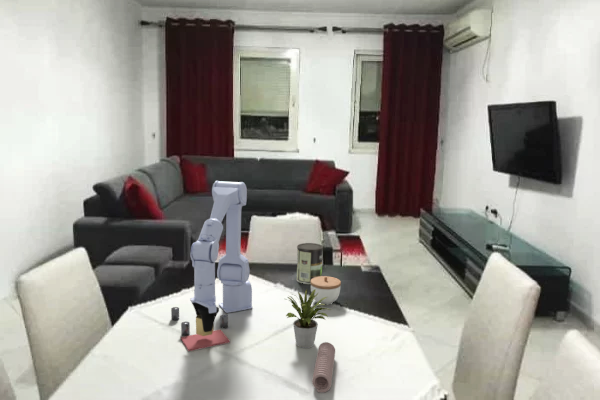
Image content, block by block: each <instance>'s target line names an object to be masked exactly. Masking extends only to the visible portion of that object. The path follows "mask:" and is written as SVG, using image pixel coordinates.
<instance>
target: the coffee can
mask: <svg viewBox="0 0 600 400" xmlns="http://www.w3.org/2000/svg"><path fill="white" fill-rule="evenodd" d="M296 248H297V252H296V256H297V257H296V265H297V266H296V281H297V283H300V284H302V283H303V285H311V283H310V282H311V279H312V278H315V277H319V276H323V252H324V251H323V250H324V246H323V245H321V244H319V243H314V242H305V243H299V244H298V245H297V246H296Z"/></svg>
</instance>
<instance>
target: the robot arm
mask: <svg viewBox="0 0 600 400" xmlns="http://www.w3.org/2000/svg"><path fill="white" fill-rule="evenodd" d="M247 191H248V189H247V185H246V184H245V182H243V181H239V182H238V181H222V180H221V181H220V180H215V181H214V183H212V187H211V195H212V200H213V203H212V204H213V205H212V208H211V211H210V213H211V214H210V217H209V218H208V219H206V220H205V221H204V223H203V225H202V228H201V230H200V233H199V236H198V239H197V240H196V241H195V242H193V243H192V244H191V246H190V253H189V254H190V260H191V263H192V268H193V271H194V276H193V278H194V281H193V282H194V283H193V286H194V290H193V291H194V292H193V295H194V296H193V297H191V298H190V302H191V305H192V306H193V308H194V311H195V314H196V316H197V315H198V314H199V313H200V315H201V318H202V324H203V329H204V332H209V331H212V328H213V324H214V322H215V321H216V318H217V315H218V313H219V312H220V309H222V310H223V311H224V312H225V313H226V314H229V313H235V312H239V311H245V310H246V311H247V310H250V309H253V289H252V282H250V280H249V278H250V270H251V269H250V263H249V262H250V261H249V258H247V257H246V256H245V255H243V254H242V253H241V247H242V246H241V243H242V241H241V239H242V238H241V237H242V210H243V209H242V208H243V207H244V206H246V205H247V199H248V196H247V195H248V194H247V193H248V192H247ZM225 216H226V221H225V222H226V224H225V225H226V229H225V234H226V235H225V254H224V255H222V256H221V257H220V259H219V260H218V264H217V270H216V261H217V259H218V256H219V248H220V244H219V242H220V239H221V236H222V233H223V231H224V225H223V223H222V222H223V220H224V218H225ZM216 276H217V279H218V280H219V281H220V284H222V302H219V303H218V306H219V307H220V308H219V307H218V306H217V304H216V301H217V296H216Z"/></svg>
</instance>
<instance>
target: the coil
mask: <svg viewBox="0 0 600 400" xmlns="http://www.w3.org/2000/svg"><path fill="white" fill-rule="evenodd" d="M335 357H336V348H335V346H334V345H333V344H332V343H331V342H326V341H325V342H322V343H321V344H319V345H318V348H317V355H316V360H315V364H314V370H313V375H312V379H311V384H312V386H313V387H314V389H316V392H317V393H327V392H328V391H330V389H331V387H332V383H333V382H332V380H333V373H334V366H335V365H334V364H335Z"/></svg>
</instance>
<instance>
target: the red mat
mask: <svg viewBox="0 0 600 400" xmlns="http://www.w3.org/2000/svg"><path fill="white" fill-rule="evenodd" d="M180 340H181V341H182V343H183V345H184V347H185V349H187V351H188V352H192V351H196V350H201V349H206V348H211V347H215V346H219V345H224V344H229V343H230V342H231V341H230V340H231V339H229V338H228V337H227V335H226V334H225V333H224V331H223V330H222V328H220V329H215V330H214V331H213V333H212V335H207V336H201V335H198V334H196V333H195V334H191V335H188V336H181V337H180Z"/></svg>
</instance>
